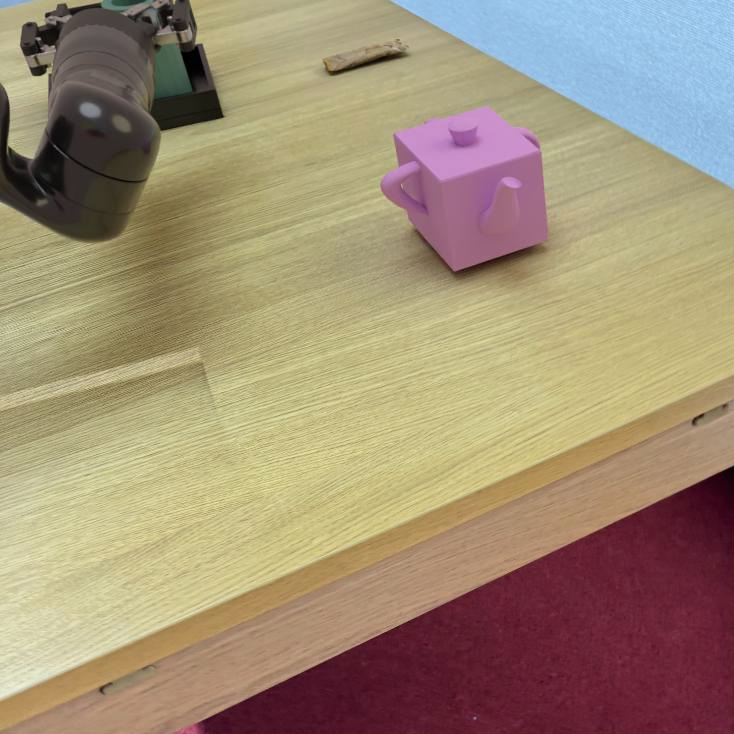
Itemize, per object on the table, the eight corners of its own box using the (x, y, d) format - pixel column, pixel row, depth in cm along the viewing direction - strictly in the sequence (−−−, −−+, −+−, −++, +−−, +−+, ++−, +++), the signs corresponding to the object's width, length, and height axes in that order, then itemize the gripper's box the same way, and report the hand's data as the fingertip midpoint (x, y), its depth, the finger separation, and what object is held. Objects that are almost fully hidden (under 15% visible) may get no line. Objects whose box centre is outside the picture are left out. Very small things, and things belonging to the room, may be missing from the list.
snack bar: (329, 70, 116) (319, 52, 117) (330, 81, 117) (321, 63, 118) (409, 47, 118) (399, 30, 119) (410, 58, 119) (400, 41, 121)
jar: (139, 119, 110) (101, 13, 102) (136, 97, 114) (100, -6, 106) (196, 107, 111) (163, 2, 103) (192, 86, 115) (159, -17, 107)
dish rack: (59, 151, 108) (20, 58, 101) (59, 100, 118) (23, 12, 111) (223, 117, 111) (196, 24, 104) (210, 69, 121) (184, -19, 114)
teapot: (599, 267, 85) (594, 146, 78) (441, 321, 81) (421, 200, 74) (504, 179, 96) (492, 67, 89) (362, 223, 93) (338, 110, 86)
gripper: (179, 11, 82) (179, -51, 94) (-8, 41, 81) (15, -25, 92) (208, 106, 88) (205, 37, 99) (33, 136, 86) (50, 62, 97)
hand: (114, 7), depth 95 cm, fingers open, 8 cm apart
